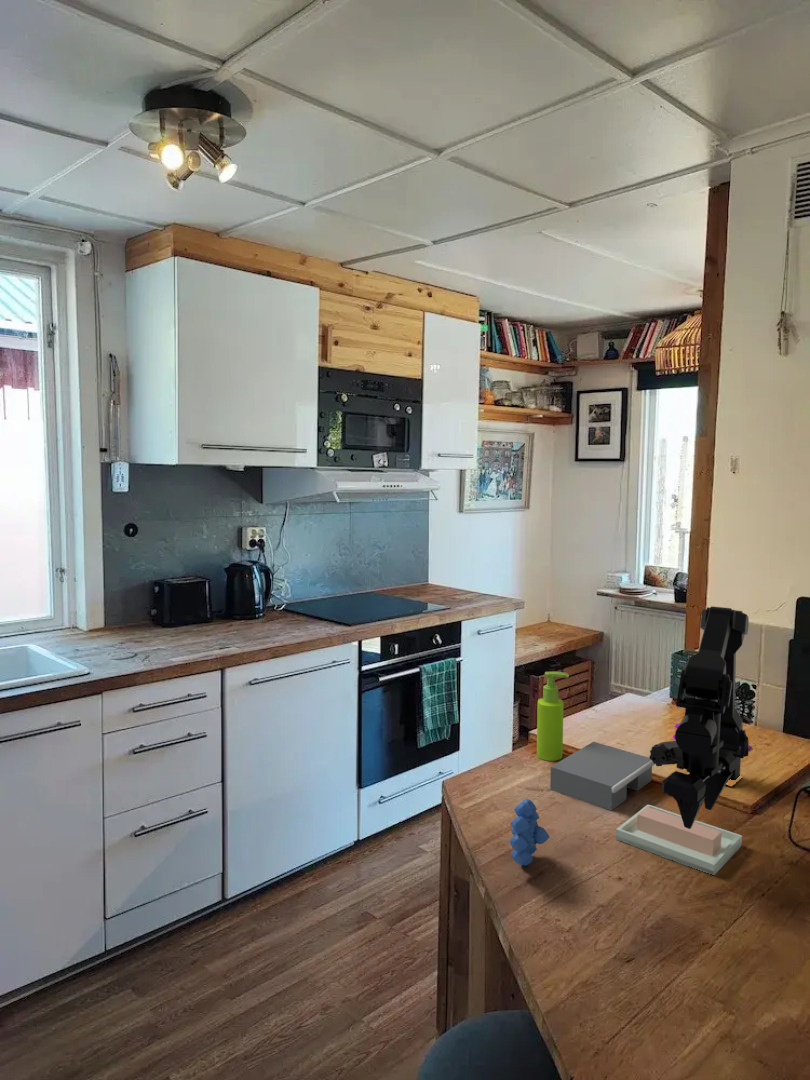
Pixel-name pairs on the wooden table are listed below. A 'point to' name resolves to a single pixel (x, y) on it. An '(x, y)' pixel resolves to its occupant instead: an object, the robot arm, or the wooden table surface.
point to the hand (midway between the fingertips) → (698, 818)
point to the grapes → (526, 833)
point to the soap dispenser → (550, 720)
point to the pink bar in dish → (679, 831)
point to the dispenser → (601, 774)
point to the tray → (679, 852)
